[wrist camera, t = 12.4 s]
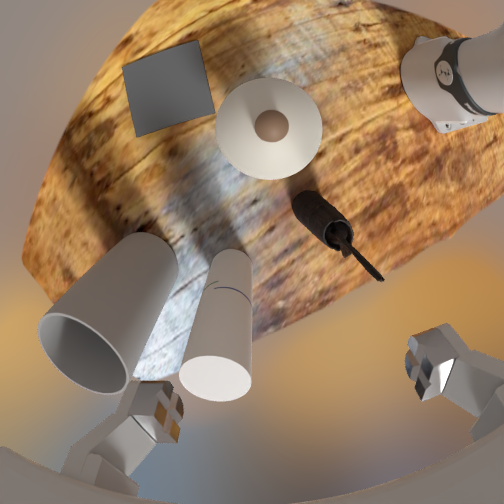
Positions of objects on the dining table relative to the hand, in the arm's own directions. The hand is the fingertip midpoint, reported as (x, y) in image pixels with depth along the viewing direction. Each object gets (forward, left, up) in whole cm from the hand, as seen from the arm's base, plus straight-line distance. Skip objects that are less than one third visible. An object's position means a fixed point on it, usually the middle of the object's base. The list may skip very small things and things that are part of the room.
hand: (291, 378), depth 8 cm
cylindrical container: (+8, +13, -37) cm, 40 cm away
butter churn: (-7, +6, -37) cm, 38 cm away
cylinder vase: (+23, +9, -37) cm, 45 cm away
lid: (-2, -8, -24) cm, 25 cm away
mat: (+11, -19, -37) cm, 43 cm away
